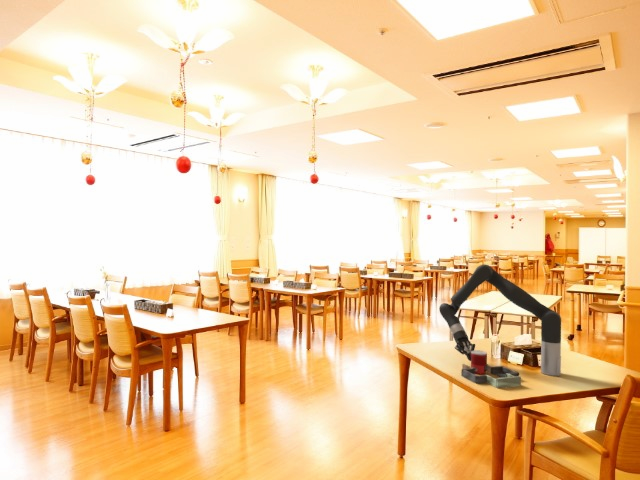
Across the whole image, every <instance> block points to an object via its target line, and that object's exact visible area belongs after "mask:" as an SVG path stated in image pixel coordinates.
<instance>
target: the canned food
mask: <svg viewBox="0 0 640 480" xmlns="http://www.w3.org/2000/svg"><path fill="white" fill-rule="evenodd" d="M487 364H488V353H487V352H486V351H483V350H475V349H474V351H471V361H470V367H472V368H474V369H475V375H478V376H481V375H487V373H488V372H487Z"/></svg>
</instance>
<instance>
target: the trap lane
mask: <svg viewBox="0 0 640 480" xmlns="http://www.w3.org/2000/svg"><path fill="white" fill-rule="evenodd" d="M461 366H462V369H461V375H460V376H461V377H463V378H464V379H466V380H469V381H470V382H473V384H477V385H479V384H489V385H490V386H493V387H494V388H496V389H504V388H506V387H507V388H514V387H521V385H522V376H520V372H518V371H515V370H513V369H511V368H508V367H506V366H504V365H497V366H492V365H491V364H488V363H487V373H490V374H491V375H494V376H495V377H497V378H495V377H493V376H491V375H488V374H484V375H477V374H475V369H474V368H472V367H471V365H470V366H469V365H467V364H465V363H462V364H461Z"/></svg>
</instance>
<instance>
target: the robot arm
mask: <svg viewBox="0 0 640 480" xmlns="http://www.w3.org/2000/svg"><path fill="white" fill-rule="evenodd" d="M485 282H487V283H488V284H490V285H491V286H493V287H495V288H496V289H497V290H498V291H499V293H501V295H503V297H504V298H506V299H507V300H508V301H510V302H511V303H513V304H514V305H516V306H517V307H519V308H521V309H523V310H525V311H527V312H529V313H530V314H532V315H534V316H535V317H536V318H537V319H538V320H540V321H541V322H540V324H541V326H540V327H541V328H540V329H541V330H540V331H541V332H540V335H541V336H540V337H541V340H540V342H541V343H540V345H541V346H540V347H541V349H540V373H542V374H544V375H547V376H552V377H557V376H558V377H560V376H561V373H562V372H561V371H562V370H561V368H562V355H561V354H562V353H561V352H562V351H561V350H562V349H561V347H562V345H561V344H562V317H561V315H560V314H559V313H558V312H556V311H555V310H554V309H551V308H549V307H547V306H546V305H544V304H542V303H541V302H540V301H539V300H537V299H536V298H534V296H532V295H531V294H529V293H528V292H527V291H525V290H524V289H523V288H522V287H520V286H519V285H517V284H515V283H513V281H511V280H509V279H507V278H505V277H503V276H502V274H500V273H498V272H497V271H496V270H495V269H494V268H493V266H490V265H489V264H480V265H478V266H477V267H476V269H475V270H474V271H473V273H472V275H471V276H470V277H469V279H468V280H467V281H466V282H465V283H464V284H463V285H462V286H461V287H460V288H459V289H458V290H457V291H456V292H455V293H454V294H453V295H452V296H451V297H450V300H451V301H450V302H451V303H450V304H449V303H445V302H444V303H441V304H440V305H439V313H440V315H441V317H442V318H443V319H444V320H445V322H446V323H447V326H448V328H449V329H450V333H451V335H452V338H453V339H454V341H455V343H456V345H455V346H454V349H455V350H456V351H458V352H459V353H460V354H461V355H465V356H466V358H467V360H468V361H469V362H471V351H474V350H475V349H476V343H471V341H470V340H469V337H468V335H467V332H466V330H465V328H464V326H463V324H462V323H461V321H460V318H459V317H458V316H456V314H457V313H458V311H459V310H460V308H461V306H462V305H463V304H464V303H465V302H466V300H468V298H469V297H470V296H471V295H472V293H473V292H474V291H475V290H476V289H477V288H479V287H480V285H482V284H483V283H485Z"/></svg>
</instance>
